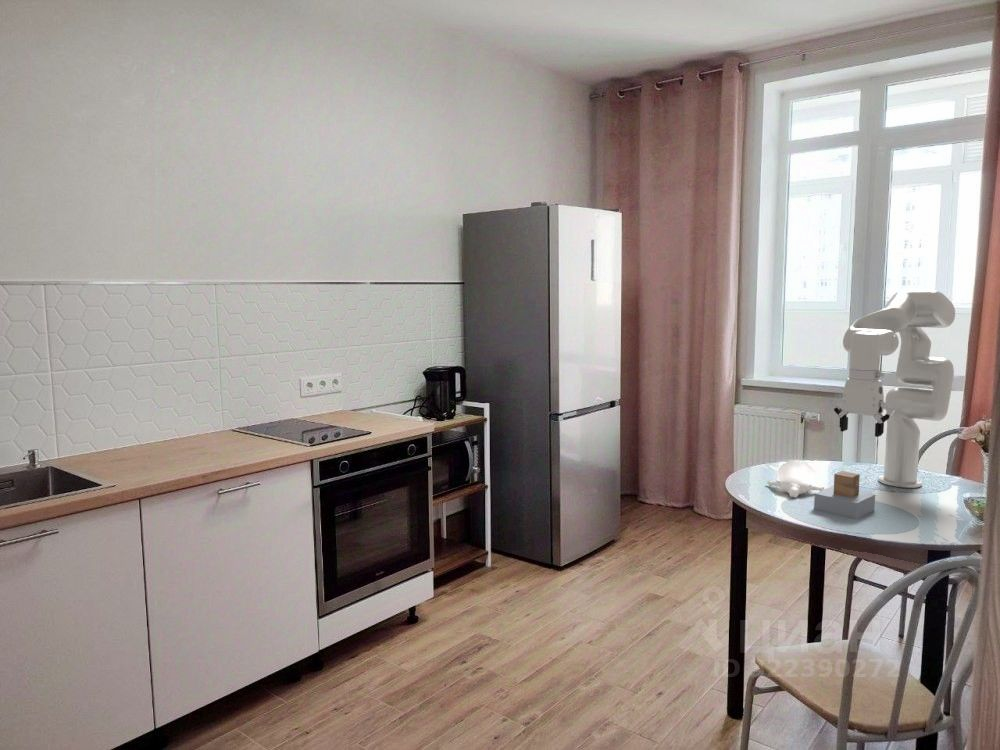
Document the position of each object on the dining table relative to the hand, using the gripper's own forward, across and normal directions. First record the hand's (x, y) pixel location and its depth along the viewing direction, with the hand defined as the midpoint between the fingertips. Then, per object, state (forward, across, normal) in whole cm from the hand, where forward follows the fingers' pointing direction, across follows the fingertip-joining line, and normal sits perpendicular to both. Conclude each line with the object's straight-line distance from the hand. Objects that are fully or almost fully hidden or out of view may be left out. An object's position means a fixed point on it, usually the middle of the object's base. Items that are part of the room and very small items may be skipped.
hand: (860, 433), depth 202 cm
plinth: (+22, +2, +5) cm, 23 cm away
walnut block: (+18, +1, +5) cm, 18 cm away
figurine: (+23, +22, -5) cm, 32 cm away
